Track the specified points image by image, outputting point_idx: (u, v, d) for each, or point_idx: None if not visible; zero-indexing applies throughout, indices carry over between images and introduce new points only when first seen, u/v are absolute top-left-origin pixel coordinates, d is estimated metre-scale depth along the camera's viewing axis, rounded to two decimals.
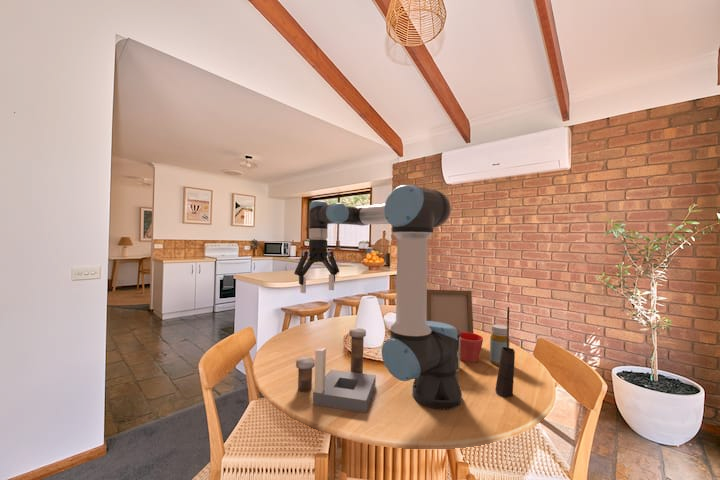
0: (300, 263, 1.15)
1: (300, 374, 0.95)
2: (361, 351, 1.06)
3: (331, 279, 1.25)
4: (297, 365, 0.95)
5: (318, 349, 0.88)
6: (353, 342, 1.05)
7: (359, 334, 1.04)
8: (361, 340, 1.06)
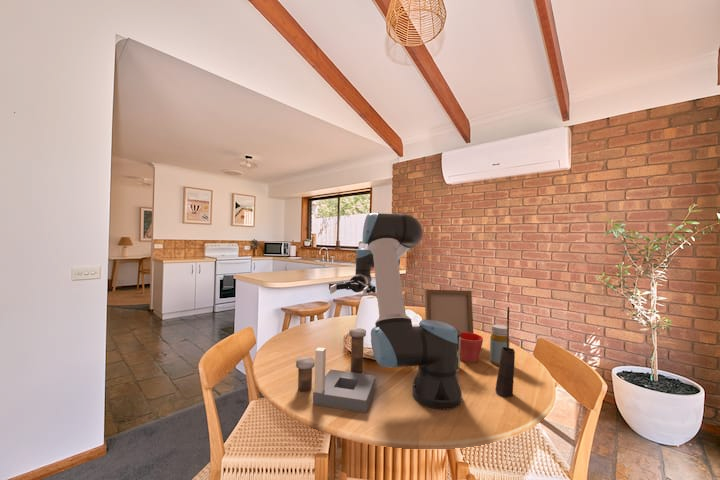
0: None
1: (300, 374, 0.95)
2: (361, 351, 1.06)
3: None
4: (297, 365, 0.95)
5: (318, 349, 0.88)
6: (353, 342, 1.05)
7: (359, 334, 1.04)
8: (361, 340, 1.06)
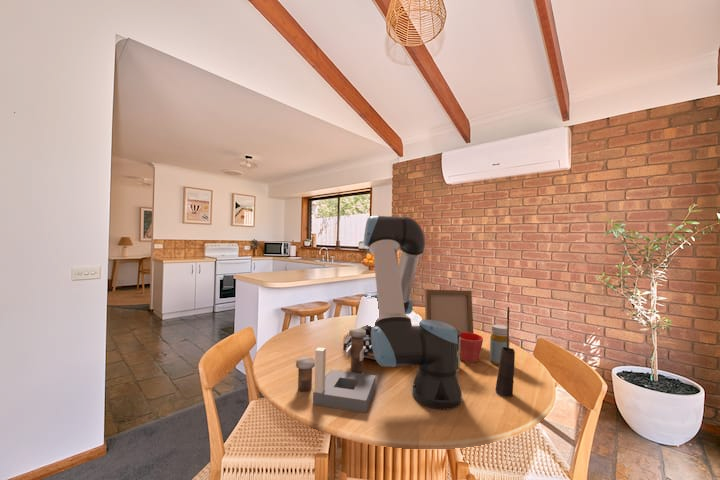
0: None
1: (300, 374, 0.95)
2: None
3: None
4: (297, 365, 0.95)
5: (318, 349, 0.88)
6: (353, 342, 1.05)
7: (359, 334, 1.04)
8: (361, 340, 1.06)
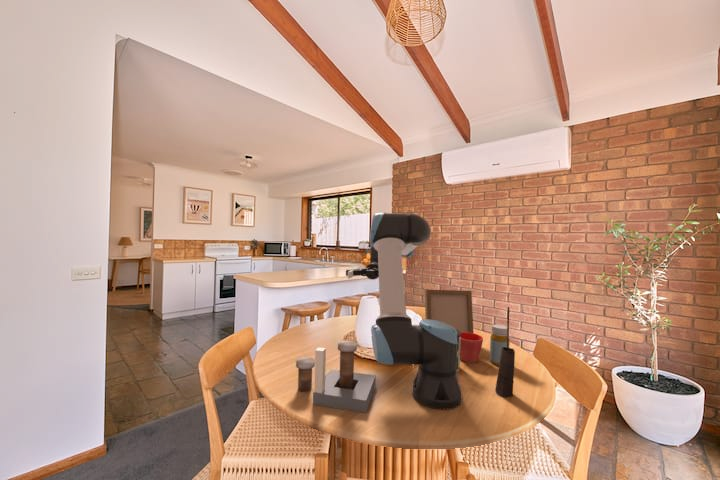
0: None
1: (300, 374, 0.95)
2: (351, 368, 0.92)
3: None
4: (297, 365, 0.95)
5: (318, 349, 0.88)
6: (342, 357, 0.92)
7: (349, 348, 0.91)
8: (351, 355, 0.92)
